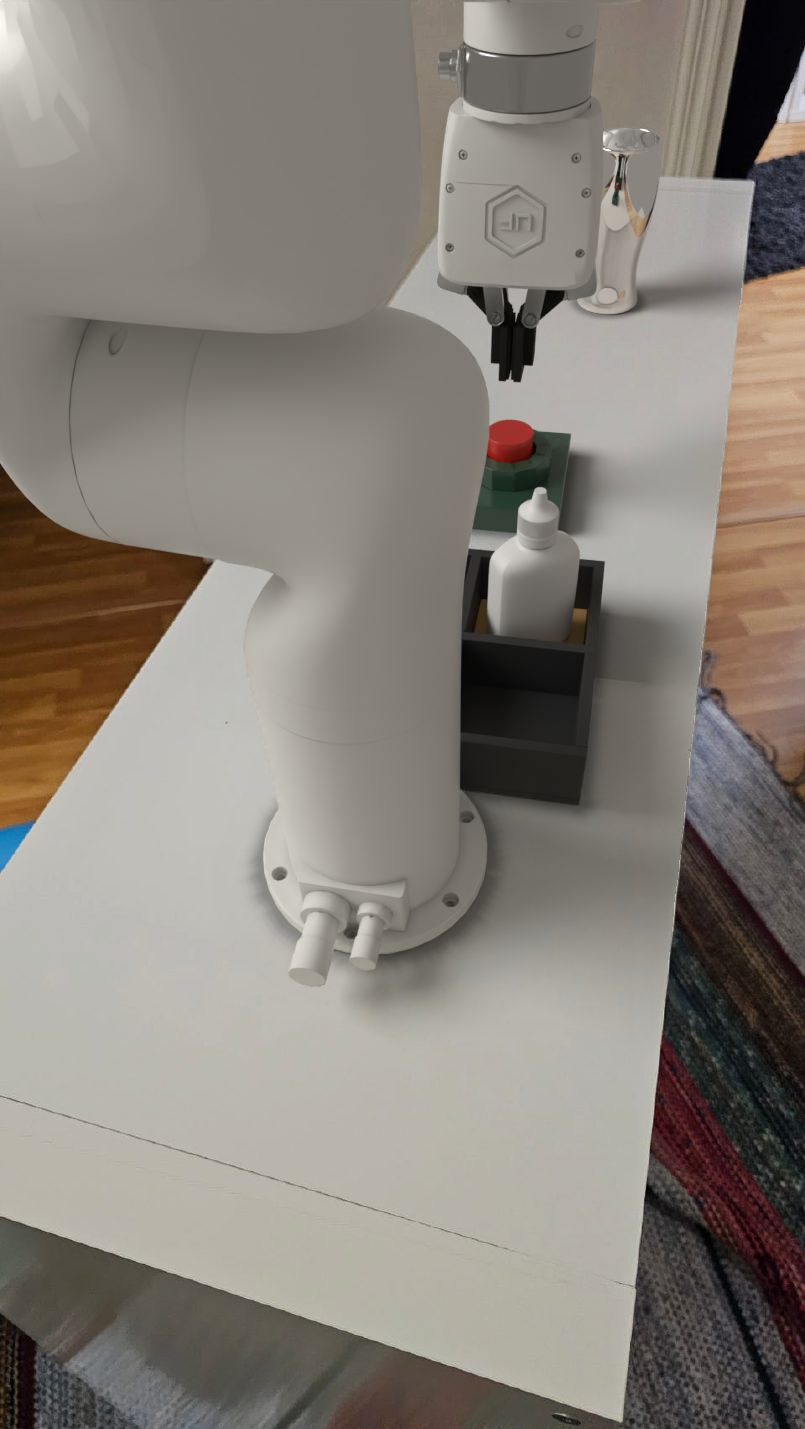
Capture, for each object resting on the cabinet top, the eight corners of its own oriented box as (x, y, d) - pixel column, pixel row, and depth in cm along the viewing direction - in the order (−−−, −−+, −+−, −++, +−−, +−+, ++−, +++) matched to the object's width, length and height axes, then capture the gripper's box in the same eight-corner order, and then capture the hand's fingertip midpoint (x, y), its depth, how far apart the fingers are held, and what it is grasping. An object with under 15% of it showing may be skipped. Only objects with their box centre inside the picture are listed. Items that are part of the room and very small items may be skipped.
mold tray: (578, 806, 56) (587, 756, 53) (299, 768, 59) (289, 719, 56) (597, 611, 67) (605, 560, 64) (361, 587, 70) (356, 537, 67)
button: (529, 466, 73) (531, 446, 72) (482, 463, 74) (483, 443, 73) (534, 440, 76) (536, 420, 74) (489, 437, 76) (490, 417, 75)
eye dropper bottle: (488, 615, 66) (494, 467, 57) (570, 619, 66) (588, 470, 57) (484, 660, 64) (489, 511, 55) (570, 665, 63) (589, 515, 54)
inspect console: (557, 537, 73) (561, 493, 70) (440, 527, 75) (440, 483, 72) (568, 456, 80) (573, 413, 77) (462, 448, 82) (462, 405, 79)
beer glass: (621, 281, 101) (642, 121, 90) (653, 309, 97) (679, 145, 86) (561, 293, 100) (575, 132, 89) (590, 322, 96) (609, 157, 84)
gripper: (388, 94, 55) (400, 392, 68) (657, 99, 52) (614, 406, 66) (413, 58, 59) (419, 342, 73) (659, 61, 57) (619, 354, 71)
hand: (511, 372), depth 69 cm, fingers closed
